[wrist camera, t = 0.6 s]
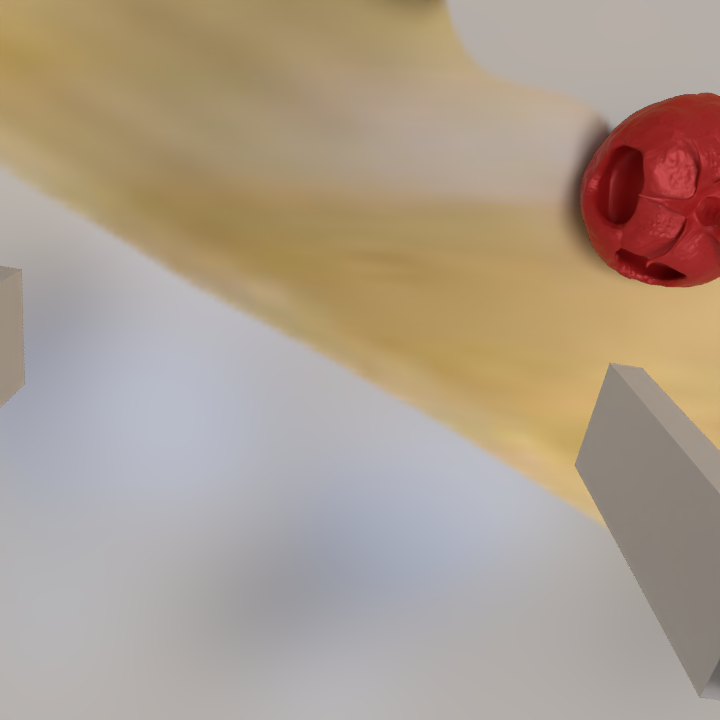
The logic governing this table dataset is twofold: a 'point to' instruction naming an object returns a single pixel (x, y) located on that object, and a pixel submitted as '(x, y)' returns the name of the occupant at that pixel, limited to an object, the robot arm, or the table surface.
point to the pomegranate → (659, 193)
